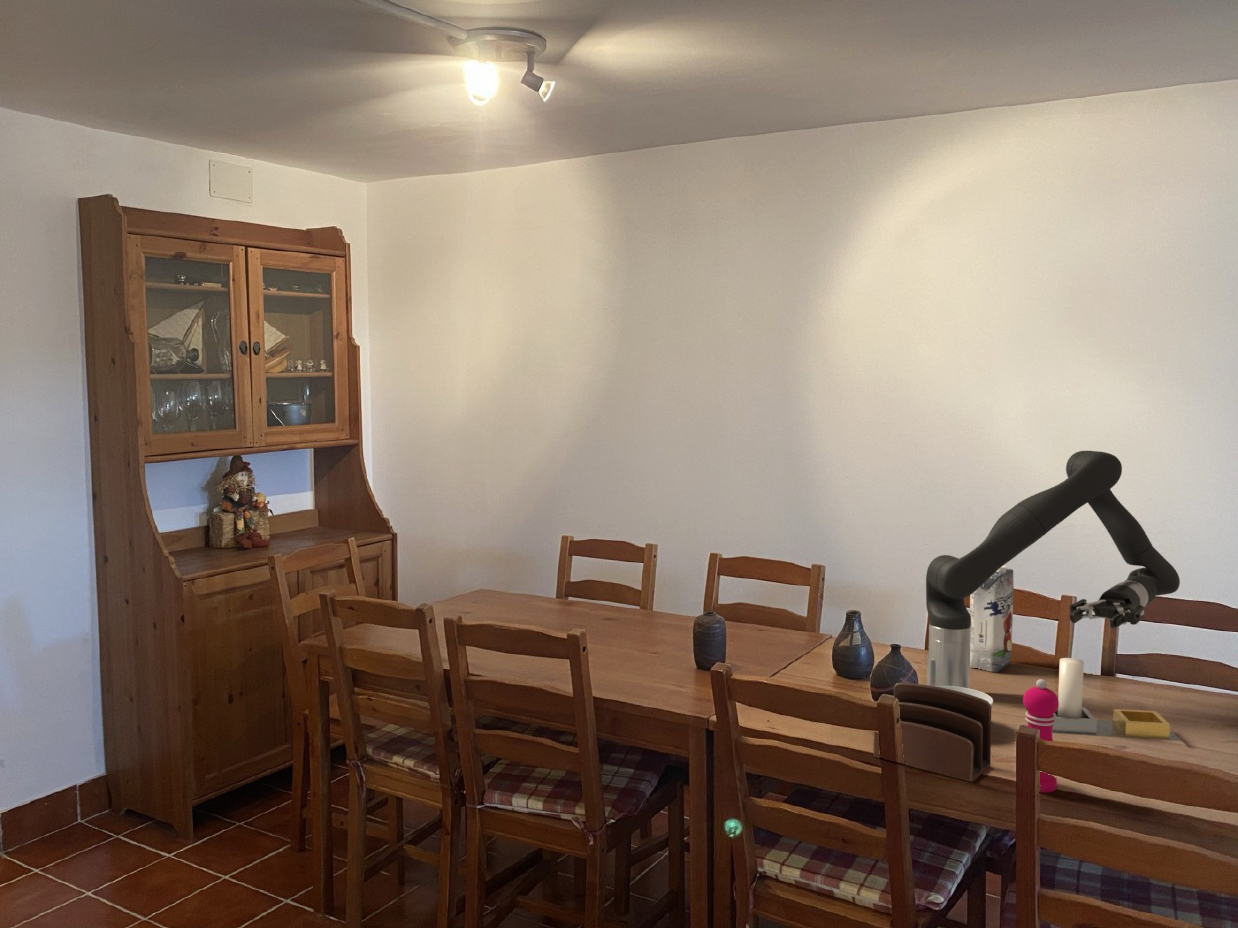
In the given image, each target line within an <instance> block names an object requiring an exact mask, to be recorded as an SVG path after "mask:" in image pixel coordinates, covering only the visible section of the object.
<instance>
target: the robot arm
mask: <svg viewBox="0 0 1238 928" xmlns="http://www.w3.org/2000/svg"><path fill="white" fill-rule="evenodd" d="M1065 472H1066V476H1067V478H1066V479H1064V480H1063V481H1061V483H1058V484H1056V485H1055V486H1052V487H1049V488H1047V489H1045V490H1043V491H1040V492H1038V493H1036V494H1033V495H1031V496H1029V497H1027V498H1025V499H1022V500H1021V501H1020V502H1018V503H1017V504H1015V505H1014V506H1013V507H1011V508H1009V509H1008V510H1007V511H1006V512H1005V513H1004V514H1002V515H1001V516H1000V517H998V519H997V520H996V522H995V523H994V525H993V526H992V527H991V529H990V531H989V533H988V535H987V536H986V537H985V539H984V540H983V541H982V542H981V543H980V544H979V545H977V546H976V548H974V549H972V550H971V551H969V552H968V553H967V554H965V555H963V556H961V557H959V558H958V557H956V556H953V555H950V554H943V555H942V554H941V555H939V556H937V557H935V558H933V559H932V561H930V563H929V565H928V567H927V571H926V574H925V576H926V577H925V598H926V599H925V600H926V601H925V602H926V605H925V606H926V611H927V614H928V620H929V622H928V624H929V625H928V652H927V653H926V684H925V685H930V686H956V687H964V688H969V689H970V671H971V667H970V637H971V616H970V611H969V610H968V608H967V606H966V604H965V599H966V598H968V597H970V595H971V594H972V593H974V592H975V591H976V590H977V589H978V588H979V587H980V586H981V585H982V584H983V583H984V582H985V581H987V580H988V579H989V578H990V577H991V576H992V575H993V574H994V573H995V572H996V571H997V570H998V569H1000V568H1001V567H1002V566H1006V565H1007V564H1008V563H1009V562H1010V561H1011V560H1013V559H1014V558H1016V557H1017V556H1018V555H1019V554H1021V553H1022V552H1024V551H1025V550H1026V549H1028V548H1029V547H1031V545H1033V544H1034V543H1036V542H1037V541H1038V540H1040V539H1041V538H1042V537H1044V536H1045V535H1047V533H1049V532H1050V531H1051V530H1052V529H1054V528H1055V527H1056V526H1057V525H1059V524H1060V523H1062V522H1063V521H1064V520H1066V519H1067V518H1068V517H1070V516H1071V515H1072V514H1073V513H1075V511H1077V510H1078V509H1080V508H1081V507H1083V506H1085V505H1086V504H1088V506H1089V507H1091V509H1092V510H1093V512H1094V513H1095V515H1096V516H1097V518H1098V519H1099V520H1100V523H1102V525H1103V526H1104V527H1105V529H1106V531H1107V532H1108V535H1109V536H1110V537H1111V540H1112V541H1113V543H1114V545H1115V546H1116V548H1117V550H1118V552H1119V553H1120V555H1121V557H1122V560H1123V561H1124V562H1125V563H1126V564H1127V565H1130V566H1137V567H1140V568H1136V569H1134V570H1131V571H1130V572H1129V574H1128V576H1127V578H1126V580H1124V581H1122V582H1119V583H1116V584H1115V585H1113V586H1112V587H1110V588H1108V589H1107V590H1106V591H1104V592H1102V594H1101V595H1100V596H1099V598H1098V600H1096V601H1092V602H1087V601H1088V600H1087V598H1086V599H1085V598H1082V599H1080V600H1077V601H1076V602H1074V603H1072V604H1070V605H1069V610H1070V611H1069V612H1070V613H1069V621H1071V623H1073V624H1077V623H1078V622H1079V621H1081V620H1082V619H1087V618H1088V619H1089V620H1095V619H1100V618H1101V619H1106V618H1107V619H1109V623H1110V624H1109V625H1110V626H1109V627H1110V628H1111V629H1116V628H1118V627H1120V626H1122V625H1127V624H1128V623H1129V624H1130V625H1137V624H1138V623H1139V622H1141V621H1142V620H1143V619H1144V618H1145V609H1144V608H1145V607H1146V606H1148V605H1149V604H1151V603H1152V602H1153V601H1154V600H1155V598H1156V597H1157V596H1163V595H1164V596H1165V595H1170V594H1173V593H1176V592H1177V591H1178V590H1179V587H1180V584H1181V581H1180V577H1179V574H1178V572H1177V570H1176V569H1175V567H1174V566H1173V565H1172V564H1171V563H1170V562H1169V560H1167V559H1166V558H1165V557H1164V556H1163V555H1162V554H1161V553H1160V552H1159V551H1158V550H1157V549H1156V548H1155V547H1154V546H1153V543H1152V542H1151V540H1150V539H1149V537H1148V535H1147V533H1146V531H1145V530H1144V528H1143V526H1142V525H1141V524H1140V522H1139V521H1138V519H1137V518H1136V517H1135V516H1133V515H1132V513H1131V512H1130V511H1129V510H1128V509H1127V508H1126V507H1125V506H1124V505H1123V503H1121V501H1120V500H1119V499H1118V498H1117V497H1116V495H1115V494H1114V493H1113V491H1112V490H1111V489H1113V487H1115V485H1117V484H1118V482H1119V480H1120V479H1121V477H1122V473H1123V465H1122V462H1121V461H1120V459H1119V458H1118V457H1117V456H1116V455H1114V454H1112V453H1109V452H1105V451H1097V450H1096V451H1095V450H1080V451H1077V452H1074V453H1073V454H1072V455H1070V457H1069V458H1068V460H1067V462H1066V465H1065ZM1093 613H1094V614H1093Z"/></svg>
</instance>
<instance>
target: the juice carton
mask: <svg viewBox="0 0 1238 928" xmlns="http://www.w3.org/2000/svg"><path fill="white" fill-rule="evenodd" d="M969 613H970V616H971V637H970V668H971V667H973V668H972V669H974V668H978V669H977V670H980V669H982V670H981V671H985V670H986V672H989V673H990V672H992V673H999V672H1000V671H1002V670H1003V669H1006V668H1007V667H1008V666H1009V665H1010V662H1011V657H1012V644H1013V621H1014V619H1013V617H1014V616H1013V615H1014V570H1013V569H1012V568H1007V565H1003V566H1002V567H1001V568H1000V569H998V570H997V571H996V572H995V573H994V574H993V575H992V576H991V577H990V578H989V579H988V580H987V581H985V582H984V583H983V584H982V585H981V586H980V587H979V588H978V589H977V590H976V591H975V592H974V593H972V594H971V595H970V596H969Z"/></svg>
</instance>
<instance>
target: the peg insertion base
mask: <svg viewBox="0 0 1238 928" xmlns="http://www.w3.org/2000/svg"><path fill="white" fill-rule="evenodd" d="M1112 710H1113V711H1112V712H1113V713H1112V720H1111V719H1110V720H1108V719H1096V717H1094V716H1093V714H1092V713H1091V712H1090V711H1089V710H1088V709H1087V708H1086V707H1084V706H1082V718H1068V717H1058V709H1057V711H1056V712H1055V713H1054V715H1055V724H1053V725H1052V734H1054V733H1055V734H1066V735H1067V734H1068V735H1069V734H1070V735H1083V736H1084V735H1085V736H1098V737H1099V736H1100V737H1101V736H1102V737H1117V738H1118V737H1119V738H1133V739H1134V738H1135V739H1148V740H1149V739H1150V740H1151V739H1152V740H1166V741H1168V740H1169V741H1181V739H1180V738H1179V737H1178V736H1177V735H1176V734H1175V733H1174V731H1172V730H1171V724H1170V723H1169V722H1168V721H1167V720H1166V719H1165V718H1163V716H1162V715H1160V714H1159V713H1158V712H1157V711H1156V710H1155V711H1154V710H1139V709H1122V708H1121V709H1119V708H1113V709H1112Z"/></svg>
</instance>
